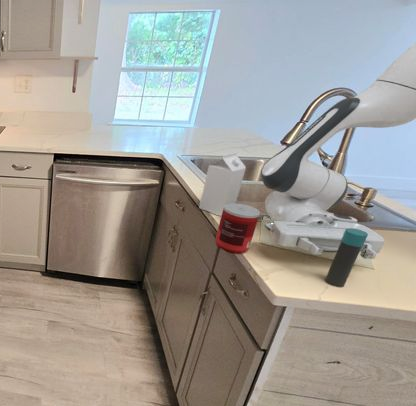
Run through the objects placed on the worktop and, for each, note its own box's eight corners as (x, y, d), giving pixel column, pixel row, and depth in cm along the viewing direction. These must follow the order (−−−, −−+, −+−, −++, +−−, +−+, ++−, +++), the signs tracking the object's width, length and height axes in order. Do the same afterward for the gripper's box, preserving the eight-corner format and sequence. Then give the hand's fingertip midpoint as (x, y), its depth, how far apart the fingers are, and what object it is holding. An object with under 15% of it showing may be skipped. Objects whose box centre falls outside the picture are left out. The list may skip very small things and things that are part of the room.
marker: (343, 281, 82) (366, 230, 77) (345, 289, 80) (369, 237, 74) (323, 276, 84) (344, 226, 79) (325, 283, 82) (346, 232, 76)
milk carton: (198, 208, 120) (211, 152, 112) (211, 204, 123) (225, 149, 115) (220, 216, 114) (235, 158, 106) (233, 211, 117) (249, 154, 109)
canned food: (239, 240, 100) (250, 203, 96) (254, 255, 93) (267, 216, 89) (209, 238, 102) (218, 202, 97) (221, 253, 95) (232, 215, 90)
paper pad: (360, 235, 101) (360, 234, 100) (374, 269, 86) (374, 267, 86) (261, 216, 113) (262, 215, 113) (259, 243, 98) (259, 242, 98)
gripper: (264, 211, 93) (293, 237, 81) (362, 217, 88) (408, 246, 76) (258, 233, 95) (284, 261, 83) (352, 240, 91) (395, 271, 78)
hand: (344, 254), depth 80 cm, fingers open, 8 cm apart
